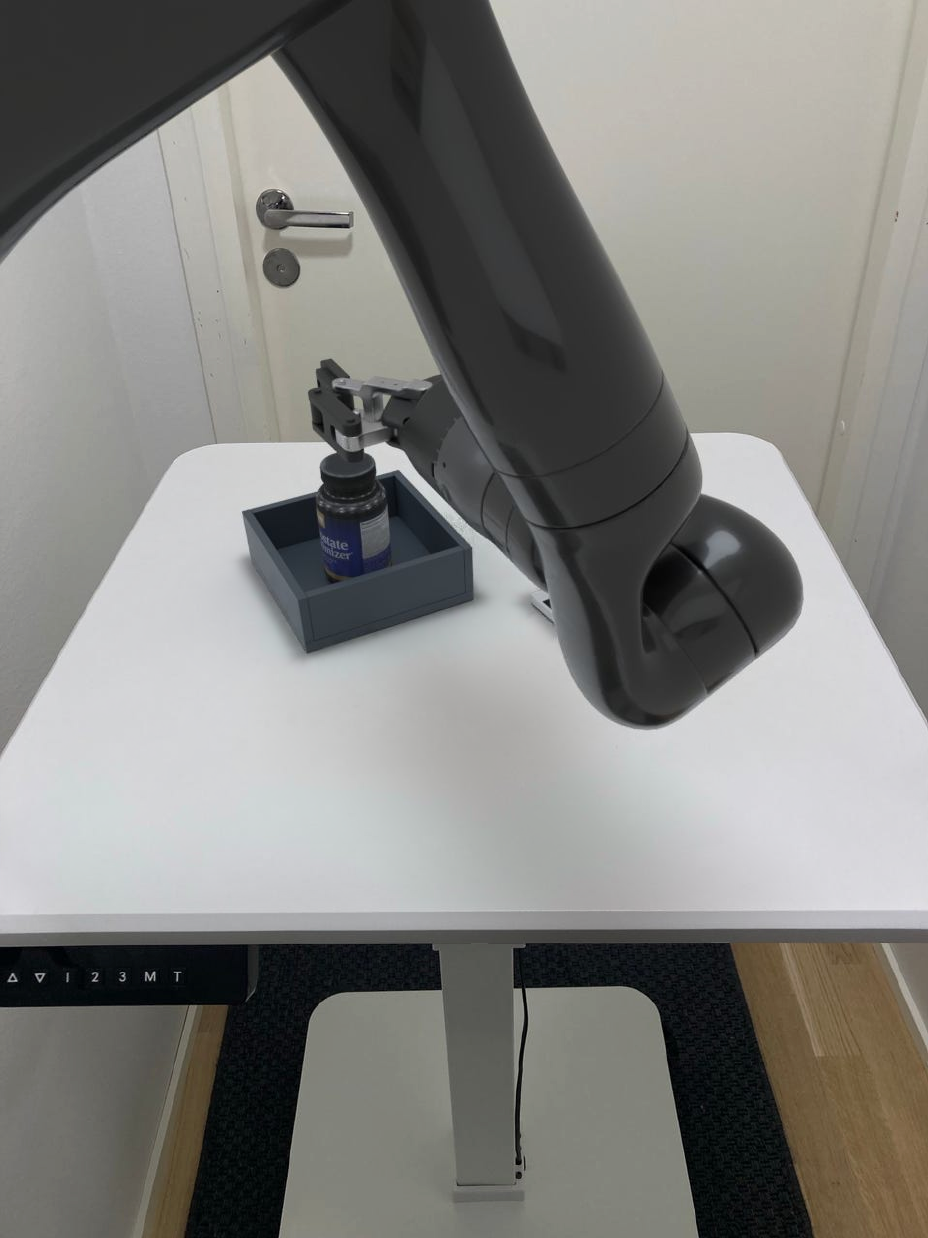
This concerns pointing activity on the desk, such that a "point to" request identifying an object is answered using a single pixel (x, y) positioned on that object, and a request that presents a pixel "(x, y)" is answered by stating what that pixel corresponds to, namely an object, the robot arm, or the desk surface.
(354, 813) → the desk surface
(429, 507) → the open box
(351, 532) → the pill bottle
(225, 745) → the desk surface
